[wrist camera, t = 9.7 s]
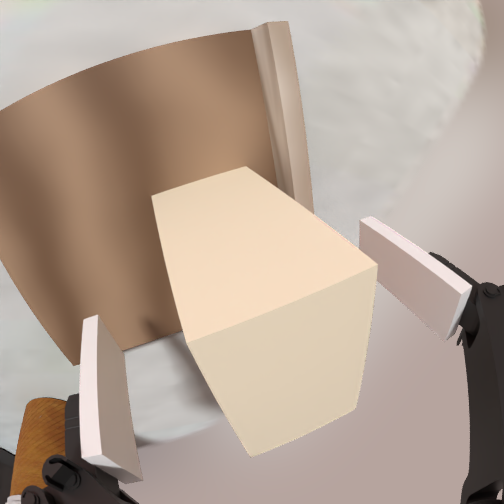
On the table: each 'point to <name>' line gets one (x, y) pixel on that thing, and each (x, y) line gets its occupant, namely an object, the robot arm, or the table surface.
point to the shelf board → (137, 172)
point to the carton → (267, 304)
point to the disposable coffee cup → (37, 444)
